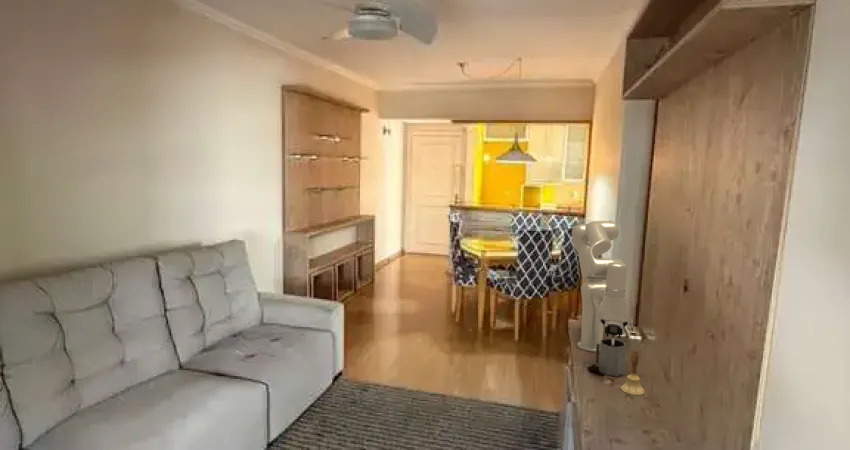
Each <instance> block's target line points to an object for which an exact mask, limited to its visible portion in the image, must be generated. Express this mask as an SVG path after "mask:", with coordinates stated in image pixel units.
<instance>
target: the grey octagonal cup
mask: <svg viewBox="0 0 850 450" xmlns="http://www.w3.org/2000/svg"><path fill="white" fill-rule="evenodd" d="M626 346H627V345H626V342H625V341H622V340H620V339H616V338H615V339H614V347H613V346H612V338H605V339H604V338H603V340H601V343H600V344H597V347H596V352H595V364H596V365H598V364H599V365H598V366H599V367H598V372H599V373H600V374H602V375H604V376H606V375H607V377H611V378H620V377H623V376H625V363H626ZM599 350H600V352H599Z"/></svg>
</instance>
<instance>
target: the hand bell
mask: <svg viewBox="0 0 850 450" xmlns="http://www.w3.org/2000/svg"><path fill="white" fill-rule="evenodd" d="M632 351H633V352H632V354H631V356H630V361H631V372H630V374H628V375H627V376H626V379H625V380H626V381H625V383H624V384H623V385H621V387H620V390H621V392H624V393H625V394H628V395H631V396H641V395H642V396H643V395H644V394H645V390H644V388H643V387H642V385H641V379H640V377H639V376H638V375H637V366H638V364H639V359H640V358H639V353H638V350H637V349H633V350H632Z"/></svg>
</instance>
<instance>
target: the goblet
mask: <svg viewBox="0 0 850 450" xmlns="http://www.w3.org/2000/svg"><path fill="white" fill-rule="evenodd" d="M608 326H609V331H608V335H611V339H612V346H613V347H614V339H616V338H615V337H616V336H618V335H619V326H620V324H617V323H608Z"/></svg>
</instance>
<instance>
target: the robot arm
mask: <svg viewBox="0 0 850 450" xmlns="http://www.w3.org/2000/svg"><path fill="white" fill-rule="evenodd" d="M619 229H620V228H619V227H618V224H617V223H616V222H615V221H612V220H609V221H608V220H594V221H589V222H588V223H581V224H576V225H575V226H574V227H573V228H572V229H571V239H572V243H573V246H574V248H575V250H576V252H577V255H578V261H579V265H580V272H581V276H582V278H583V279H584V280H586V281H585V282H584V283H582V285H581V287H580V289H581V290H580V293H581V294H580V295H581V302H582V311H581V312H582V313H581V314H582V315H581V332H580V333H581V336H580V338H581V339H580V341H578V342H577V347H578V348H579V349H581V350H582V351H586V352H592V353H596V347H597V344H600V343H601V340H603V339H604V334H606V337H609V333H608V331H609V321H610V322H618V323H619V335H617V336H618V339H621V336H623V329H624V328H625V327H626V326H628V325H630V324H631V323H633V318H632V317H631V315H630V313H629V302H628V301H629V299H628V297H627V295H626V293H627V292H626V289H627V271H628V268H627V264H626V263H624V261H623V260H622V259H620V258H606V257H605V258H599V256H600V255H604V254H605V253H607V252H608V251H610V249H611V247H612V242H611V241H615V240H616V239H617V238H618V237H619V233H620V230H619ZM600 303H601V304H600ZM599 353H600V350H599Z"/></svg>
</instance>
